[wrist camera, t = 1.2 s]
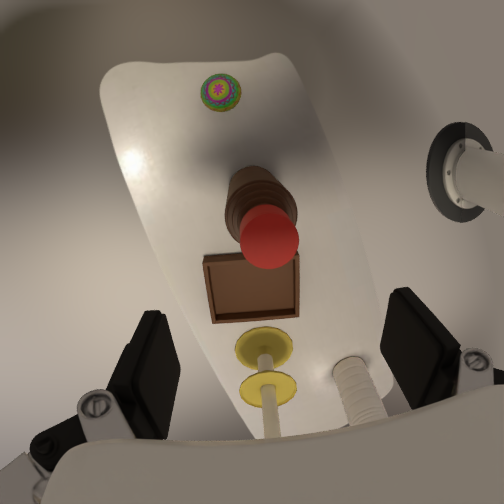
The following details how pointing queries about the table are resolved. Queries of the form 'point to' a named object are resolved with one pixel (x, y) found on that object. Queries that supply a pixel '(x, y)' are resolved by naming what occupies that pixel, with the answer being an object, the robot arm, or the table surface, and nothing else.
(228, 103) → the egg
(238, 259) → the tray
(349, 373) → the white ribbed tube
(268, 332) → the candle
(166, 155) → the table surface
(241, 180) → the bottle
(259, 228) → the cap
